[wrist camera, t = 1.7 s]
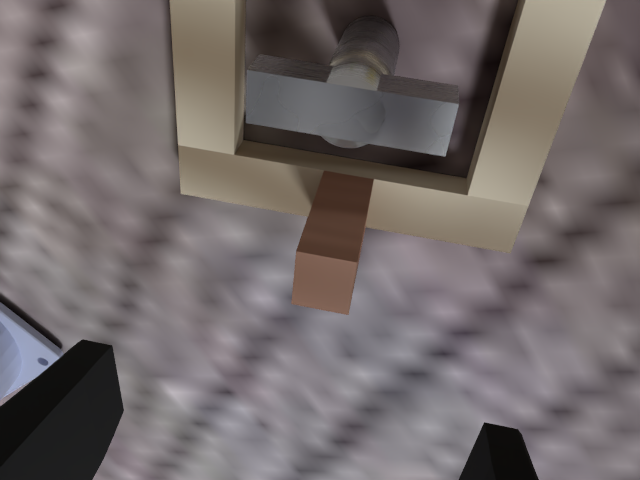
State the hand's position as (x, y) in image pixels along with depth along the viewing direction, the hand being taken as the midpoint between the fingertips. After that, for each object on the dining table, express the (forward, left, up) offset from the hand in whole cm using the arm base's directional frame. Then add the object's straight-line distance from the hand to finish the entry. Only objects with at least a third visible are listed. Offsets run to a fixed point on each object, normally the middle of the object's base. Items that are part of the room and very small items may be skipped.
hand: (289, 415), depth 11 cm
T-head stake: (+3, +3, -9) cm, 10 cm away
